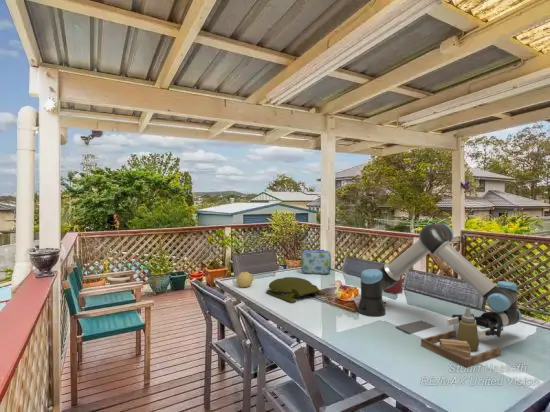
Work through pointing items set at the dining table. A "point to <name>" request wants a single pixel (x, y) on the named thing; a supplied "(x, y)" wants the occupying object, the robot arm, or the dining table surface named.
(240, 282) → the tan round lump
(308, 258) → the lunch box
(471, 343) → the squeeze bottle
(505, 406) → the dining table surface
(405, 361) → the dining table surface
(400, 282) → the canister
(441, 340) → the offcut top
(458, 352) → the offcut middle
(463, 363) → the walnut open frame
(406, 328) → the charcoal mat
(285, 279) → the green turtle
